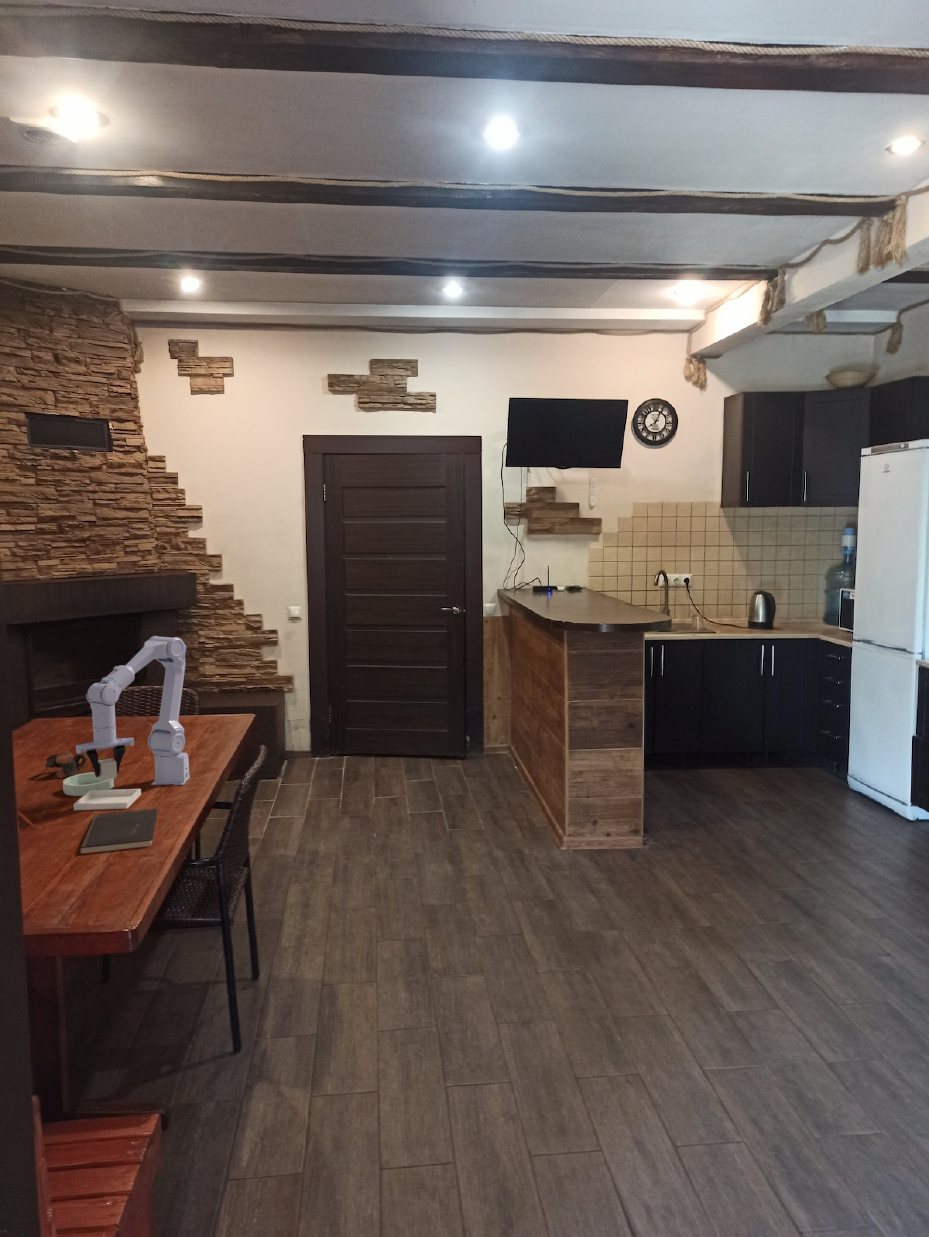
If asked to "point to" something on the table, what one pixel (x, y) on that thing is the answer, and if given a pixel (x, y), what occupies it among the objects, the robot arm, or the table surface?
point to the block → (107, 769)
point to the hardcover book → (120, 831)
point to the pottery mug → (66, 763)
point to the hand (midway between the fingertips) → (106, 774)
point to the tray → (107, 799)
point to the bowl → (85, 784)
